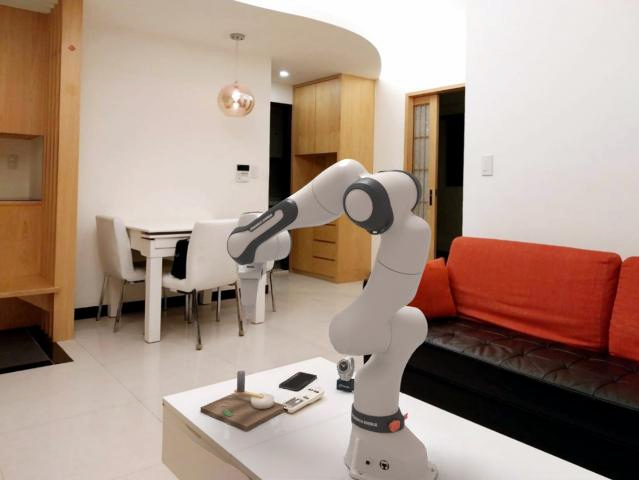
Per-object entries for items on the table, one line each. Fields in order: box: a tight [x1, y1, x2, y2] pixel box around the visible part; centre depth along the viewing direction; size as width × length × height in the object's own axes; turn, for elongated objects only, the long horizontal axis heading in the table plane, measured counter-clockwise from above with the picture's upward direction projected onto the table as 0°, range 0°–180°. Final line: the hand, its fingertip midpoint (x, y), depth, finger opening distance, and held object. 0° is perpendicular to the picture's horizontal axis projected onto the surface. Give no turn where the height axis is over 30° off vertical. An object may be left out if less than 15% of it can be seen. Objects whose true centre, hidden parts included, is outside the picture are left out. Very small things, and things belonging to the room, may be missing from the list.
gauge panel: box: [200, 392, 287, 433], centre depth 147 cm, size 19×17×2 cm
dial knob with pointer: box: [233, 370, 275, 409], centre depth 150 cm, size 14×7×8 cm, turn 64°
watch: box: [335, 355, 356, 393], centre depth 166 cm, size 6×8×11 cm
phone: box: [278, 371, 318, 393], centre depth 171 cm, size 8×1×15 cm
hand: (249, 313), depth 144 cm, fingers open, 8 cm apart
